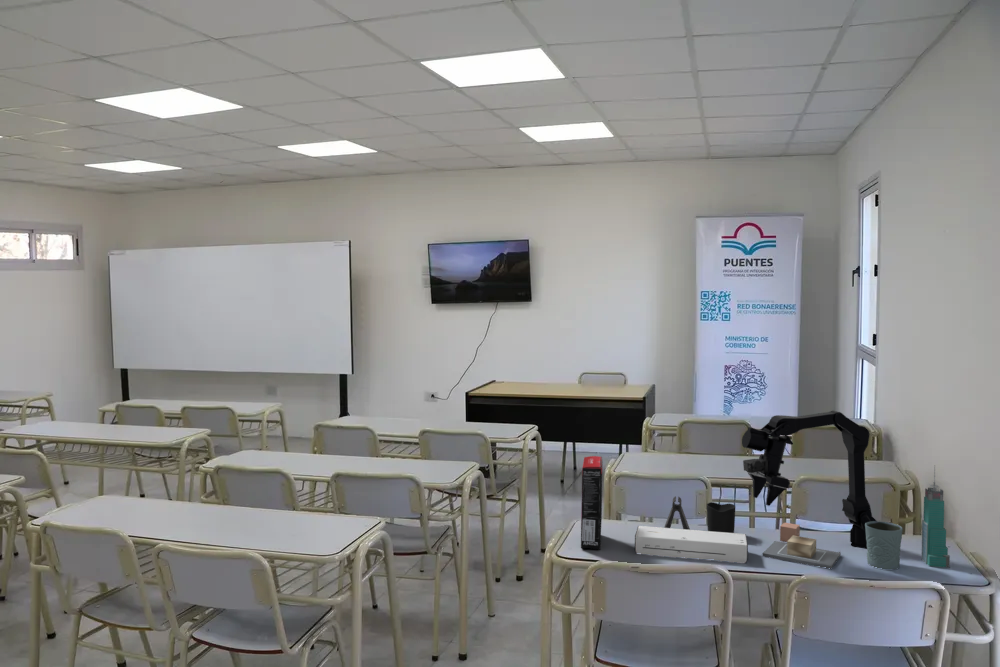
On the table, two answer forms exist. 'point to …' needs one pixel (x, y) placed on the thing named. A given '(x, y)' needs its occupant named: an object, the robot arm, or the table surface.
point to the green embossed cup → (883, 544)
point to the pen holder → (720, 517)
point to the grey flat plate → (818, 559)
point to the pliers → (679, 508)
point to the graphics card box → (591, 502)
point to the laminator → (691, 544)
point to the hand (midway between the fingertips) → (761, 501)
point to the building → (934, 529)
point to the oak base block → (801, 546)
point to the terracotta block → (789, 531)
